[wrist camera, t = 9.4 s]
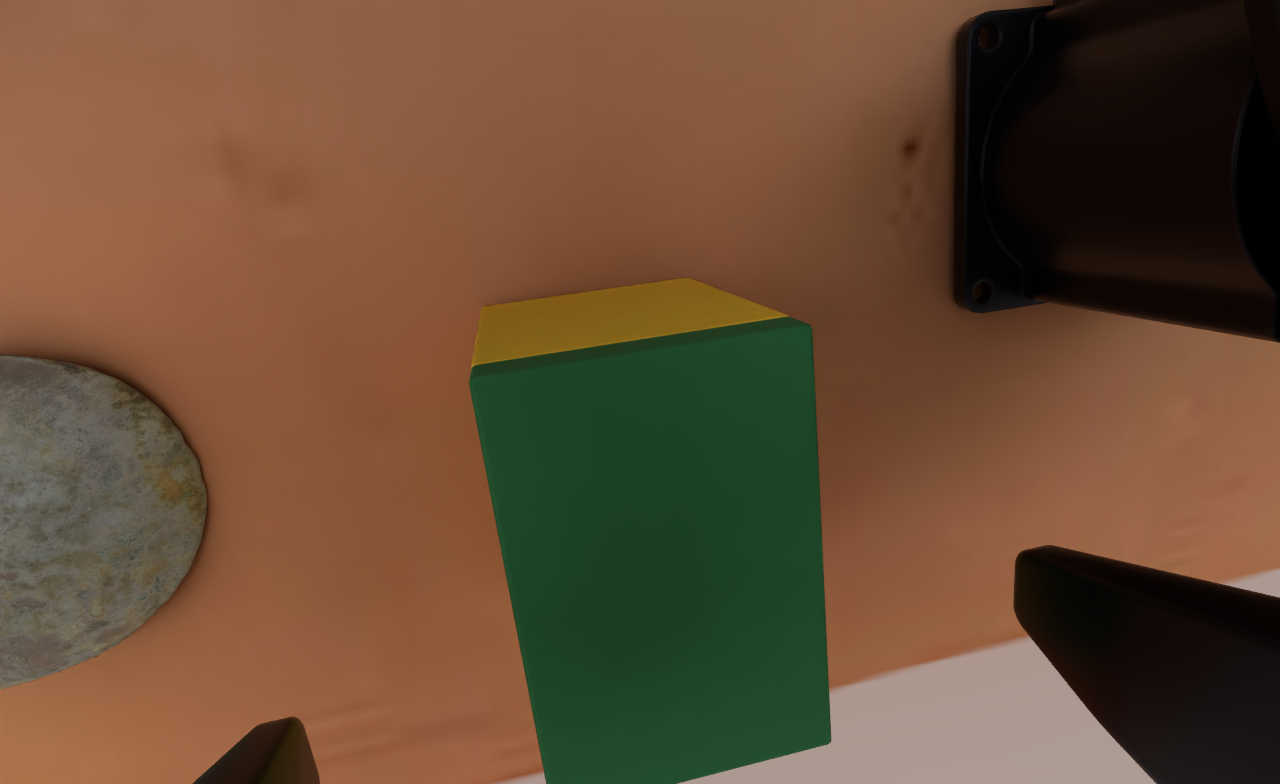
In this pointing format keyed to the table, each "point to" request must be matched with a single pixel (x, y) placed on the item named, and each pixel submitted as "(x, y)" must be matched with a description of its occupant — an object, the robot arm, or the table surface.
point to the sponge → (658, 527)
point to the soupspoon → (86, 514)
